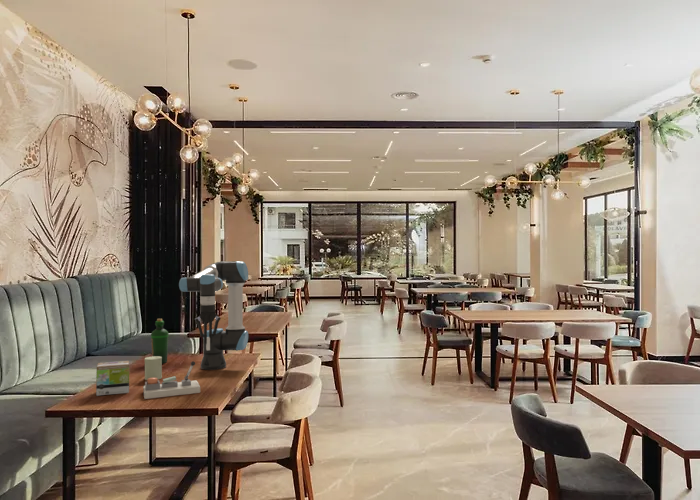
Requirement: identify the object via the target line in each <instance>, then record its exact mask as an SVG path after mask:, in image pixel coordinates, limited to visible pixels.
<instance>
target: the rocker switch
mask: <svg viewBox="0 0 700 500" xmlns="http://www.w3.org/2000/svg"><path fill="white" fill-rule="evenodd" d="M170 381H177V377H176V376H175V375H173V376H170V377H166V378H163V379H162V382H164V383H166V382H170Z"/></svg>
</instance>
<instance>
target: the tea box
mask: <svg viewBox="0 0 700 500" xmlns="http://www.w3.org/2000/svg"><path fill="white" fill-rule="evenodd" d="M95 374H96V375H95V376H96V377H95V378H96V382H95V383H96V386H95V387H96V389H95V391H96V397H98V396H99V397H100V396H105V395H107V396H108V395H119V394H129V392H130V360H121V361H110V362H109V361H107V362H98V363H97V366H96V373H95Z"/></svg>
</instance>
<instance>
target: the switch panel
mask: <svg viewBox="0 0 700 500" xmlns="http://www.w3.org/2000/svg"><path fill="white" fill-rule="evenodd" d="M200 393H201V386H200V383H199V382H198V380H191V379H189V378H188V380H185V379H181V381H178V380H174V381H170V382H166V383H164V382H163V381H161V382H160V380H158V383H157V384H148V381H144V385H143V397H144V400H146V399H147V400H148V399H157V398H165V397H173V396H182V395H191V394H200Z"/></svg>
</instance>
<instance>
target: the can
mask: <svg viewBox="0 0 700 500" xmlns="http://www.w3.org/2000/svg"><path fill="white" fill-rule="evenodd" d="M162 369H163V366H162V357H160V356H152V355H151V356H146V357H145V358H144V380H145V381H148V378H157V379H158V380H160V379H162V378H163V375H162V374H163V372H162V371H163V370H162Z"/></svg>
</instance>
